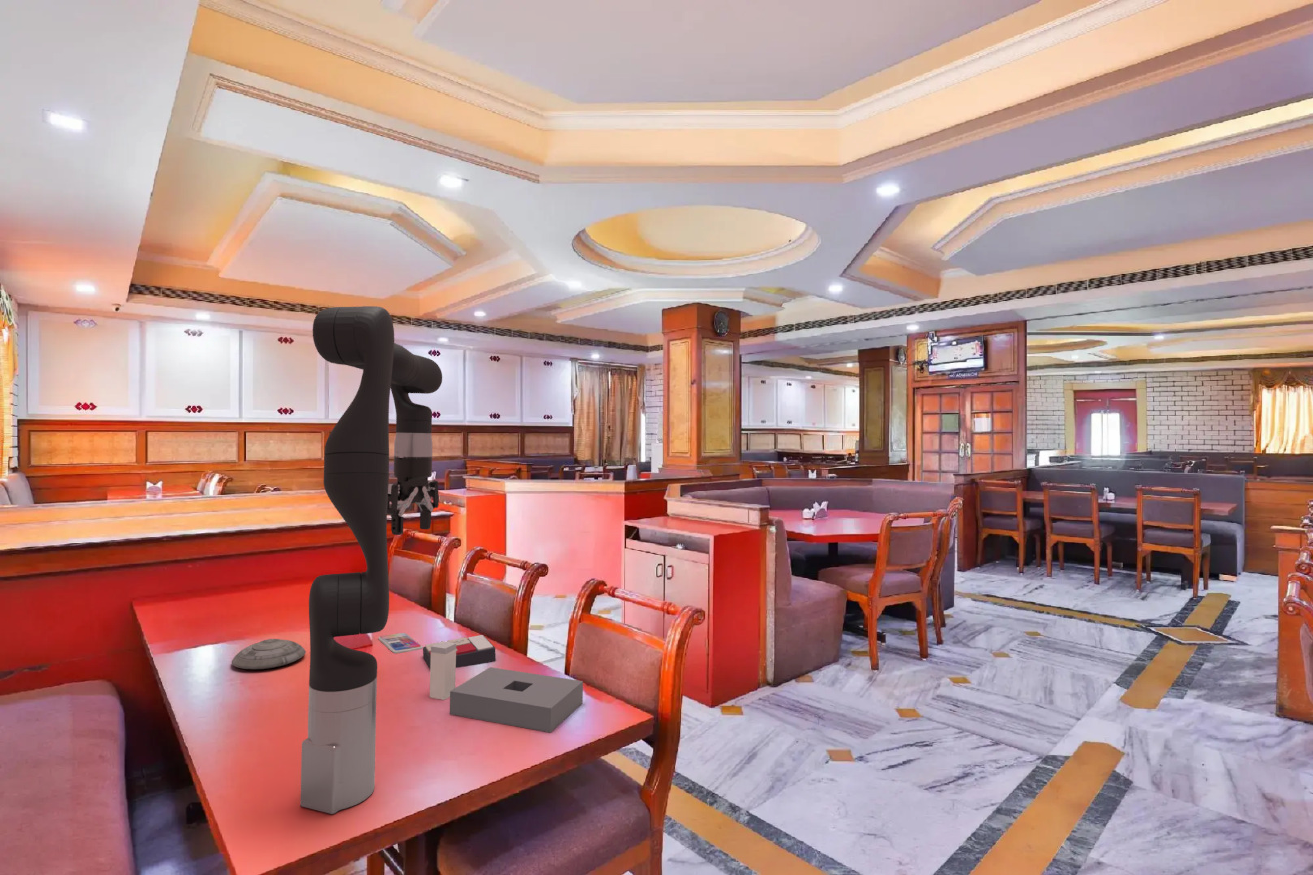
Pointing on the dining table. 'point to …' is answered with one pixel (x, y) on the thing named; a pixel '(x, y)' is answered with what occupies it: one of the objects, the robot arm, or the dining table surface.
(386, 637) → the smartphone
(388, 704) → the dining table surface
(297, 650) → the flying saucer
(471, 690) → the header
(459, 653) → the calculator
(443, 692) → the pale square peg
